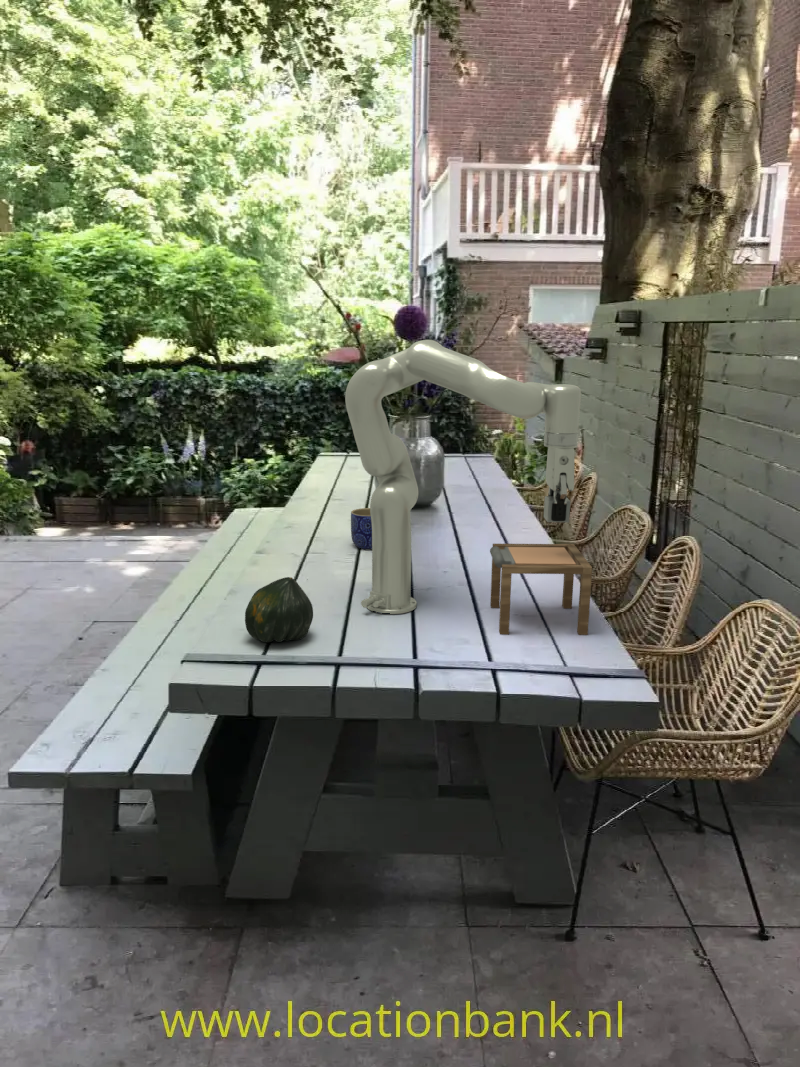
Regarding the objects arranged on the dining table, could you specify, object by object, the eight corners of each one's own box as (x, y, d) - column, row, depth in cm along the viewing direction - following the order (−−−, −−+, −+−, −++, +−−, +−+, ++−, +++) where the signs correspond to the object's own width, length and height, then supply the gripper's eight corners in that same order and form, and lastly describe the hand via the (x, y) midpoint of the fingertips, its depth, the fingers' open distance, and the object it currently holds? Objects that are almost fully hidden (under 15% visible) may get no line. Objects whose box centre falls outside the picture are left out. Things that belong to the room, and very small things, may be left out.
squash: (226, 611, 194) (252, 572, 185) (280, 599, 204) (307, 562, 195) (253, 664, 189) (281, 627, 180) (307, 649, 199) (336, 613, 190)
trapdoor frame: (587, 634, 197) (592, 567, 193) (500, 634, 197) (502, 567, 193) (570, 605, 216) (573, 544, 212) (490, 605, 216) (492, 543, 212)
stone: (569, 522, 198) (570, 501, 197) (547, 522, 198) (548, 500, 197) (564, 517, 203) (566, 496, 202) (543, 517, 203) (544, 496, 202)
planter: (387, 543, 273) (388, 508, 270) (383, 552, 262) (384, 516, 260) (353, 541, 274) (353, 507, 271) (348, 550, 263) (348, 515, 261)
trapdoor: (575, 571, 196) (576, 560, 196) (495, 570, 196) (496, 560, 196) (563, 554, 210) (564, 544, 209) (488, 553, 210) (489, 543, 209)
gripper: (585, 445, 188) (579, 527, 192) (569, 434, 204) (564, 509, 209) (551, 445, 188) (546, 526, 192) (538, 434, 204) (533, 509, 209)
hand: (556, 516), depth 201 cm, fingers closed on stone, 5 cm apart
